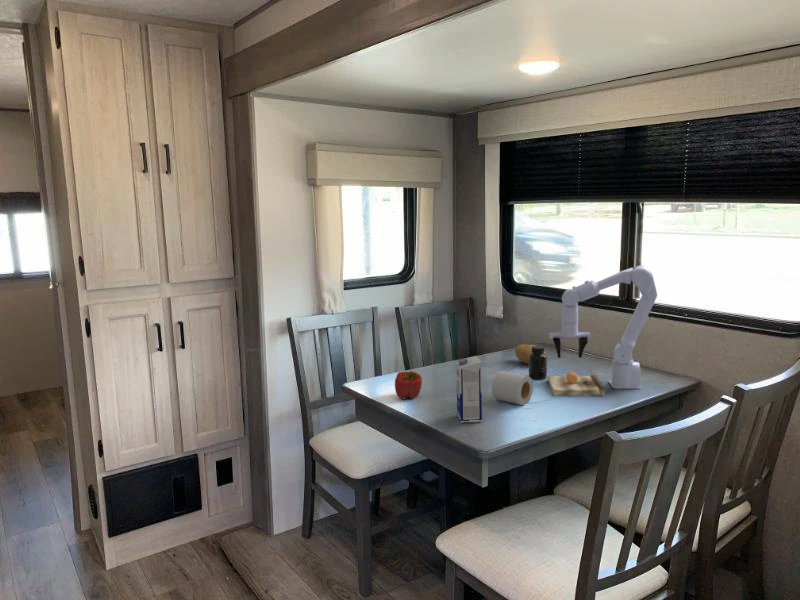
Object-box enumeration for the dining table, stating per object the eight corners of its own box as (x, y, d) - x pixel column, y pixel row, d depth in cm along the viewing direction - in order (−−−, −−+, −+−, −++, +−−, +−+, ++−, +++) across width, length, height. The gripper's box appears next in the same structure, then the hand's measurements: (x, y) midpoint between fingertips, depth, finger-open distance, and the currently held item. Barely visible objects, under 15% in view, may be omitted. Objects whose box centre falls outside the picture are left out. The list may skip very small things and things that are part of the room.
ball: (576, 381, 216) (576, 370, 215) (578, 384, 212) (578, 373, 211) (565, 381, 216) (565, 370, 216) (567, 384, 212) (567, 373, 212)
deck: (595, 381, 221) (595, 372, 221) (605, 395, 206) (605, 386, 205) (547, 381, 223) (547, 373, 223) (554, 395, 207) (554, 386, 207)
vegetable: (430, 397, 211) (429, 370, 209) (410, 404, 203) (409, 377, 202) (408, 390, 218) (407, 364, 216) (388, 397, 211) (387, 371, 209)
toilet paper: (532, 400, 204) (532, 372, 202) (518, 409, 196) (518, 380, 194) (506, 394, 210) (506, 367, 208) (492, 402, 203) (492, 375, 201)
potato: (524, 358, 254) (524, 340, 253) (550, 365, 243) (551, 346, 242) (509, 362, 249) (509, 344, 247) (535, 369, 238) (535, 350, 236)
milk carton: (482, 422, 186) (481, 361, 182) (460, 423, 185) (459, 362, 182) (477, 414, 193) (476, 355, 189) (456, 415, 192) (455, 356, 189)
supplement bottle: (547, 380, 224) (547, 349, 222) (528, 379, 226) (529, 349, 224) (546, 374, 231) (546, 345, 229) (528, 374, 232) (528, 344, 230)
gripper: (587, 319, 221) (587, 354, 224) (548, 319, 223) (548, 354, 225) (592, 323, 214) (591, 359, 217) (551, 323, 216) (550, 359, 218)
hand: (569, 357), depth 221 cm, fingers open, 7 cm apart
